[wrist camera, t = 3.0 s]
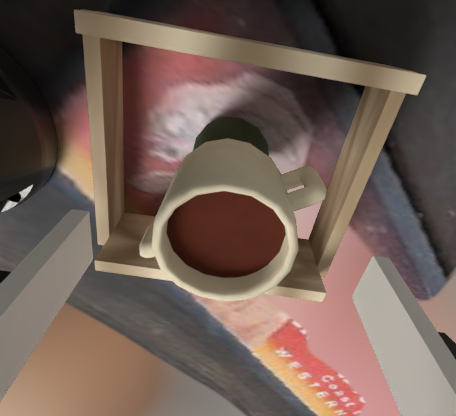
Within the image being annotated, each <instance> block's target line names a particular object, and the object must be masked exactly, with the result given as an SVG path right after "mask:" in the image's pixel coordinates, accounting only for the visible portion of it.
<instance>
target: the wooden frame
mask: <svg viewBox="0 0 456 416" xmlns="http://www.w3.org/2000/svg"><path fill="white" fill-rule="evenodd" d="M74 19H75V31H76V33H79V34H83V48H84V61H85V75H86V89H87V102H88V116H89V129H90V143H91V157H92V170H93V184H94V197H95V211H96V225H97V238H98V245H104V246H103V248H102V249H101V251H100V253H99V254H98V256H97V257H96V259H95V270H98V271H105V272H112V273H119V274H126V275H133V276H141V277H148V278H155V279H162V280H169V281H172V280H171V279H170V278H169V277H168V276H167V275H166V274H165V273H164V272H163V271H162V270H161V269H160V267H159V265H158V262H157V260H156V257H152V258H144V257H142V256H140V250H139V245H140V243H141V241H142V238H143V236H144V234H145V232H146V230H147V228H148V226H149V225H150V223H151V222H153V221H154V220H155V216H148V215H141V214H135V213H128V212H125V194H124V129H123V63H122V41H123V42H128V43H134V44H139V45H145V46H150V47H156V48H161V49H167V50H172V51H177V52H183V53H188V54H194V55H199V56H205V57H210V58H216V59H221V60H227V61H232V62H238V63H243V64H249V65H254V66H260V67H265V68H271V69H276V70H282V71H287V72H293V73H298V74H303V75H309V76H314V77H320V78H325V79H331V80H336V81H342V82H347V83H353V84H358V85H364V86H365V89H364V91H363V94H362V97H361V100H360V102H359V105H358V108H357V110H356V113H355V116H354V118H353V121H352V124H351V126H350V129H349V132H348V135H347V137H346V140H345V143H344V145H343V148H342V151H341V153H340V156H339V159H338V162H337V164H336V167H335V170H334V172H333V175H332V178H331V180H330V183H329V186H328V188H327V191H326V196H325V199H324V200H323V202H322V205H321V208H320V210H319V213H318V215H317V218H316V221H315V224H314V226H313V229H312V232H311V234H310V237H309V240H307V239H299V238H298V252H297V255H296V258H295V260H294V263H293V265H292V268H291V271H290V272H289V273H288V274H287V275H286V276H285V277H284V278H283V279H282V280H281V281H280V283H279V284H278V285H277V286H276V287H274V288H272V289H271V290H269V291H267V292H265V293H264V294H270V295H277V296H284V297H292V298H299V299H305V300H314V301H320V302H322V301H323V299H324V297H325V294H326V291H325V288H324V285H323V282H322V279H321V277H325V276H326V274H327V272H328V269H329V267H330V265H331V262H332V260H333V258H334V256H335V254H336V251H337V249H338V247H339V244H340V242H341V240H342V237H343V235H344V233H345V231H346V229H347V226H348V224H349V222H350V219H351V217H352V215H353V213H354V210H355V208H356V206H357V204H358V201H359V199H360V197H361V195H362V192H363V190H364V188H365V185H366V183H367V181H368V179H369V176H370V174H371V172H372V170H373V167H374V165H375V163H376V161H377V158H378V156H379V154H380V151H381V149H382V147H383V145H384V142H385V140H386V138H387V136H388V133H389V131H390V129H391V127H392V124H393V122H394V120H395V117H396V115H397V113H398V111H399V108H400V106H401V104H402V102H403V99H404V97H405V95H406V93H408V94H413V95H418V93H419V91H420V88H421V86H422V84H423V82H424V80H425V78H426V75H423V74H419V73H415V72H414V71H410V70H406V69H402V68H398V67H393V66H389V65H384V64H379V63H373V62H368V61H363V60H357V59H352V58H347V57H341V56H336V55H331V54H325V53H320V52H315V51H309V50H304V49H299V48H293V47H288V46H283V45H277V44H272V43H267V42H261V41H256V40H251V39H245V38H240V37H235V36H229V35H224V34H219V33H213V32H208V31H203V30H197V29H192V28H187V27H181V26H176V25H171V24H165V23H160V22H155V21H149V20H144V19H139V18H133V17H128V16H123V15H117V14H112V13H107V12H99V11H91V10H84V9H81V10H75V9H74Z"/></svg>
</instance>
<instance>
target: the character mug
mask: <svg viewBox="0 0 456 416" xmlns="http://www.w3.org/2000/svg"><path fill="white" fill-rule="evenodd" d="M300 185H304V187H305V188H302V189H299V190H296V191H293V192H290V193H287V190H289V189H292V188H295V187H297V186H300ZM326 190H327V188H326V186H325V185H324V183H323V181H322V179H321V177H320V176H319V174H318V172H317V171H316V170H315V169H314V168H313V167H311V166H306V167H302V168H299V169H296V170H293V171H290V172H288V173H285V174H282V175H281V173H280V171H279V170H278V168H277V167H276V165H275V164H274V162H273V161H272V159H271V158H270V157H269V154H268V145H267V142H266V140H265V139H264V137H263V136H262V134H261V133H260V131H259V130H258V128H256V127H254V126H253V125H251V124H249V123H248V122H246V121H244V120H243V119H234V118H222V119H220V120H217V121H215V122H213V123H210V124H208V125H207V126H206V127H205V128H204V129H203V131H202V132H201V133H200V134H199V135H198V137H197V138H196V141H195V145H194V149H193V151H192V152H191V153H189V154H188V155H187V156H186V157H185V159H184V160H183V162H182V163H181V165H180V167H179V168H178V170H177V171H176V173H175V175H174V177H173V179H172V181H171V184H170V186H169V188H168V190H167V192H166V195H165V197H164V199H163V201H162V204H161V206H160V208H159V210H158V213H157V215H156V217H155V220H154V221H153V222H151V223H150V225H149V226H148V228H147V230H146V232H145V234H144V236H143V238H142V241H141V243H140V245H139V250H140V256H142V257H144V258H152V257H156V260H157V262H158V265H159V267H160V269H161V270H162V271H163V272H164V273H165V274H166V275H167V276H168V277H169V278H170V279H171V280H172V281H173V282H174V283H175V284H177V285H178V286H179V287H181V288H183V289H185V290H188V291H190V292H192V293H194V294H196V295H198V296H200V297H205V298H210V299H215V300H220V301H240V300H245V299H251V298H254V297H256V296H259V295H262V294H264V293H265V292H267V291H269V290H271V289H272V288H274V287H276V286H277V285H278V284H279V283H280V281H281V280H282V279H283V278H284V277H285V276H286V275H287V274H288V273H289V272H290V271H291V268H292V265H293V263H294V260H295V258H296V255H297V252H298V237H297V227H296V220H295V216H294V213H293V211H296V210H299V209H302V208H305V207H308V206H311V205H314V204H317V203H318V202H321V201H323V200H324V199H325V196H326Z"/></svg>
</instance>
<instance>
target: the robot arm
mask: <svg viewBox="0 0 456 416" xmlns="http://www.w3.org/2000/svg"><path fill="white" fill-rule="evenodd" d="M56 159H57V136H56V130H55V126H54V122H53V119H52V116H51V114H50V111H49V109H48V106H47V104H46V102H45V100H44V98H43V96H42V95H41V93H40V91H39V90H38V88H37V87H36V85H35V84H34V82H33V81H32V79H31V78H30V77H29V75H28V74H27V73H26V72H25V71H24V69H23V68H22V67H21V66H20V65H19V64H18V63H17V62H16V61H15V60H14V59H13V58H12V57H11V56H10V55H9V54H8V53H7V52H6V51H5V50H4V49H2V48H1V47H0V212H3V211H6V210H9V209H12V208H14V207H16V206H18V205H20V204H22V203H23V202H24V201H26V200H27V199H28V198H30V197H31V196H32V195H33V194H35V193H36V192H37V191H38V190H40V189H41V188H42V187H43V186H44V185H45V184H46V182H47V181H48V180H49V178H50V176H51V174H52V172H53V170H54V167H55V163H56ZM92 260H93V253H92V241H91V229H90V217H89V212H88V211H81V210H75V209H71V210H70V211H69V212H68V213H67V214H66V215H65V217H64V218H63V219H62V220H61V221H60V222H59V223H58V224H57V225H56V226H55V227H54V228H53V229H52V230H51V231H50V232H49V233H48V234H47V235H46V236H45V237H44V238H43V240H42V241H41V242H40V243H39V244H38V245H37V246H36V247H35V248H34V249H33V250H32V251H31V252H30V253H29V254H28V255H27V256H26V257H25V258H24V259H23V260H22V261H21V263H20V264H19V265H18V266H17V267H16V268H15V269H14V270H13V271H12V272H8V271H1V270H0V401H1V400H2V398H3V397H4V395H5V394H6V392H7V391H8V389H9V387H10V386H11V384H12V383H13V381H14V380H15V378H16V377H17V375H18V374H19V372H20V371H21V369H22V367H23V366H24V365H25V363H26V361H27V360H28V358H29V357H30V355H31V354H32V352H33V350H34V349H35V348H36V346H37V344H38V343H39V341H40V340H41V338H42V337H43V335H44V334H45V332H46V331H47V329H48V328H49V326H50V324H51V323H52V321H53V320H54V318H55V317H56V315H57V314H58V312H59V311H60V309H61V308H62V306H63V305H64V303H65V302H66V300H67V298H68V297H69V295H70V294H71V292H72V291H73V289H74V288H75V286H76V285H77V283H78V282H79V280H80V278H81V277H82V275H83V274H84V272H85V271H86V269H87V268H88V266H89V265H90V263H91V262H92ZM352 299H353V302H354V304H355V307H356V309H357V311H358V314H359V316H360V318H361V321H362V323H363V326H364V328H365V330H366V333H367V335H368V338H369V340H370V342H371V345H372V347H373V349H374V352H375V354H376V357H377V359H378V361H379V364H380V366H381V369H382V371H383V373H384V376H385V378H386V381H387V383H388V385H389V388H390V390H391V392H392V395H393V397H394V400H395V402H396V404H397V407H398V409H399V412H400V414H401V416H456V343H455V342H453V341H452V340H451V339H450V338H449V337H448V336H447V335H446V334H445V333H440V332H437V331H436V329H435V328H434V326H433V324H432V323H431V321H430V320H429V318H428V317H427V315H426V314H425V312H424V311H423V309H422V308H421V306H420V305H419V303H418V302H417V300H416V298H415V297H414V295H413V294H412V292H411V291H410V289H409V288H408V286H407V285H406V283H405V282H404V280H403V279H402V277H401V276H400V274H399V273H398V271H397V270H396V268H395V267H394V265H393V263H392V262H391V260H390V259H389V258H385V257H379V256H373V257H372V259H371V261H370V263H369V265H368V266H367V268H366V270H365V272H364V274H363V276H362V278H361V280H360V282H359V284H358V286H357V288H356V290H355V292H354V294H353V295H352Z"/></svg>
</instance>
